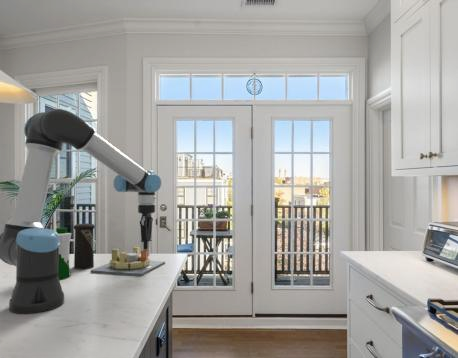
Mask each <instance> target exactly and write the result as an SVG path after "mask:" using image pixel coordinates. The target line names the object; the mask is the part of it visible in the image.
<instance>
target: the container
mask: <svg viewBox="0 0 458 358" xmlns="http://www.w3.org/2000/svg"><path fill="white" fill-rule="evenodd" d="M95 227H96V225H95V224H93V223H76V224H75V225H73V229H74V255H73V257H74V259H73V261H74V262H73V267H74V269H77V270H85V269H86V270H87V269H91V268H93V267H95V266H94V265H95V260H94V259H95V258H94V256H95V255H94V253H95V251H94V248H95V247H94V244H95V243H94V229H95Z"/></svg>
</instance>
